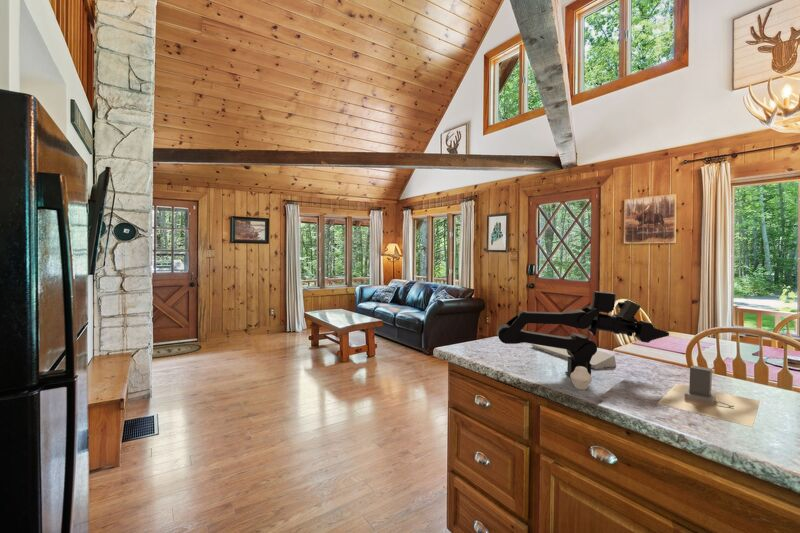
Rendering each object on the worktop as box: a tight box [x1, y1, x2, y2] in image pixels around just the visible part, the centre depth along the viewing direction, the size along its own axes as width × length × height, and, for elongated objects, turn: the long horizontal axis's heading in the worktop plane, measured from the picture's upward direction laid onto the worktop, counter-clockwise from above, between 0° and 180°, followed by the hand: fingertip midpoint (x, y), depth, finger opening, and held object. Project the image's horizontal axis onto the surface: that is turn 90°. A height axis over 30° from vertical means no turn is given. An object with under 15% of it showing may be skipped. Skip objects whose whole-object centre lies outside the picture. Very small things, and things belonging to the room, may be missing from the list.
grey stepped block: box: [684, 364, 716, 406], centre depth 105 cm, size 6×6×9 cm
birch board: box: [657, 383, 760, 428], centre depth 104 cm, size 20×24×2 cm
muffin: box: [569, 366, 593, 391], centre depth 119 cm, size 6×6×7 cm
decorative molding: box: [531, 344, 617, 370], centre depth 155 cm, size 34×5×10 cm
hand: (661, 331), depth 125 cm, fingers open, 9 cm apart
